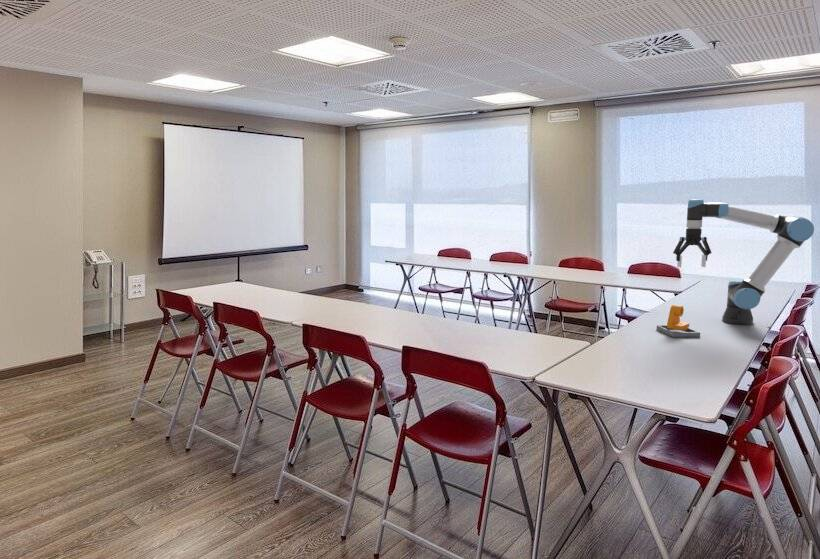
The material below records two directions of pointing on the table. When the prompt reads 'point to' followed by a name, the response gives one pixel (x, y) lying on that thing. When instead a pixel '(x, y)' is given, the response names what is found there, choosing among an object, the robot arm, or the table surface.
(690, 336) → the tray
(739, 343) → the table surface
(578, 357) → the table surface
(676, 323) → the bracket
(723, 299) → the table surface
